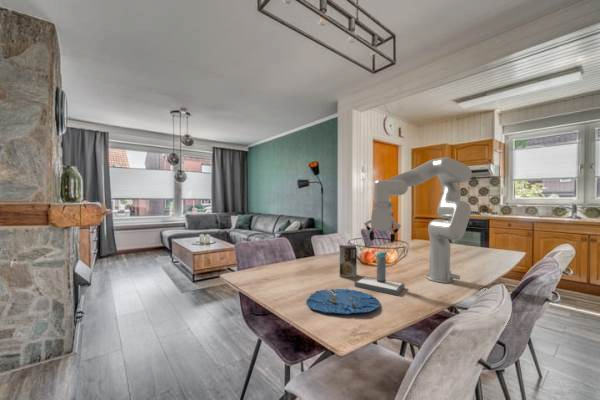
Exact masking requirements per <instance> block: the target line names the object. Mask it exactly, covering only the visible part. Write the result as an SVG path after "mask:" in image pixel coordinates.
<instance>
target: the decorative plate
mask: <svg viewBox="0 0 600 400" xmlns="http://www.w3.org/2000/svg"><path fill="white" fill-rule="evenodd" d="M305 303H306V304H307V306H308V308H309V309H311V310H312V311H313V310H314V311H319V312H322V313H328V314H332V313H334V314H339V315H350V314H353V313H354V314H357V313H370V312H371V311H374V310H376V309H379V307H380V306H381V303H380V300H379V299H378V298H376V296H373V295H372V294H368V293H365V292H363V291H359V290H354V289H350V288H336V289H335V288H334V289H333V288H331V289H320V290H316V291H314V293H311V294H310V295H309V297H308V298H307V299H306V301H305Z"/></svg>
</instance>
